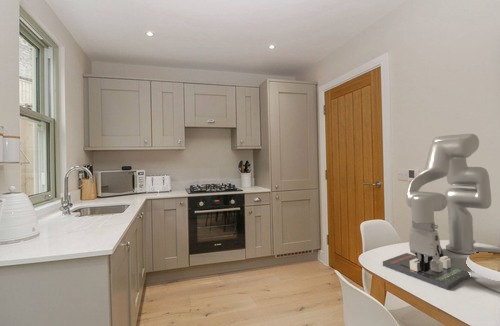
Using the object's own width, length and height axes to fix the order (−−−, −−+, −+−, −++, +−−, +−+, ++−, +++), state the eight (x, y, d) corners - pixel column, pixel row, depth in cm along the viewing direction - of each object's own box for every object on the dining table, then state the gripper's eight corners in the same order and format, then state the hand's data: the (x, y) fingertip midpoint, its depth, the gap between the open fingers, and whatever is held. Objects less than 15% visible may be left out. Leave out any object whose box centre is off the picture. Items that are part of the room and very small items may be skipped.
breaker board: (406, 256, 127) (406, 252, 127) (471, 277, 104) (471, 272, 104) (382, 265, 118) (382, 261, 118) (447, 289, 95) (447, 284, 95)
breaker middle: (435, 267, 109) (434, 258, 109) (443, 270, 106) (442, 260, 106) (430, 269, 107) (430, 260, 107) (438, 272, 104) (438, 262, 104)
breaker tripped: (414, 267, 110) (413, 257, 110) (421, 269, 108) (421, 260, 108) (409, 269, 109) (409, 259, 109) (417, 271, 106) (416, 261, 106)
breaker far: (442, 264, 111) (442, 255, 111) (450, 266, 109) (450, 257, 109) (438, 266, 110) (438, 256, 110) (446, 268, 107) (446, 259, 107)
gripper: (449, 227, 100) (451, 275, 100) (409, 220, 113) (411, 262, 113) (438, 231, 96) (440, 280, 97) (399, 223, 109) (401, 266, 110)
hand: (425, 270), depth 105 cm, fingers closed
